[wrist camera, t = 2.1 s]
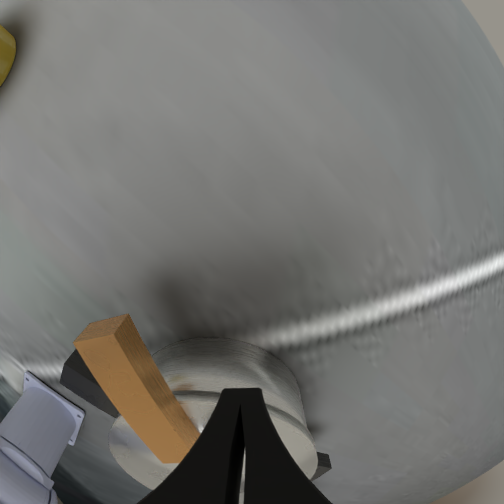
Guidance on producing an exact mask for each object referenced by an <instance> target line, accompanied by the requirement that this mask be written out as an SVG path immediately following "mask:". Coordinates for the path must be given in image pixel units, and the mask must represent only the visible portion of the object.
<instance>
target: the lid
mask: <svg viewBox="0 0 504 504" xmlns="http://www.w3.org/2000/svg"><path fill="white" fill-rule="evenodd" d="M73 343H74V345H75V347H76V349H77V350H78V352H79V354H80V355H81V357H82V359H83V360H84V362H85V363H86V365H87V367H88V368H89V370H90V371H91V373H92V374H93V376H94V377H95V379H96V380H97V382H98V383H99V385H100V386H101V388H102V389H103V391H104V392H105V393H106V395H107V396H108V398H109V399H110V400H111V402H112V403H113V405H114V406H115V407H116V409H117V410H118V411H119V413H118V415H117V417H116V419H115V421H114V423H113V425H112V428H111V430H110V432H109V438H108V440H109V447H110V450H111V453H112V455H113V456H114V458H115V460H116V461H117V462H118V464H119V465H120V466H121V467H122V468H123V469H124V470H125V471H126V472H127V473H128V474H129V475H130V476H131V477H133V478H134V479H135V480H137V481H138V482H140V483H141V484H143V485H145V486H146V487H148V488H150V489H152V490H154V489H155V488H156V487H157V486H158V485H159V484H161V483H162V482H163V481H164V480H165V479H166V478H167V476H168V475H169V474H170V473H171V472H172V471H173V470H174V469H175V468H176V467H177V466H178V464H179V463H180V462H181V461H182V460H183V458H184V457H185V456H186V454H187V453H188V452H189V451H190V449H191V448H192V446H193V445H194V443H195V442H196V440H197V439H198V437H199V436H200V434H201V433H202V431H203V429H204V428H205V426H206V424H207V422H208V420H209V419H210V417H211V415H212V413H213V411H214V409H215V407H216V405H217V402H218V400H219V397H220V395H221V393H220V392H213V391H198V390H179V391H171V390H170V388H169V386H168V385H167V383H166V381H165V380H164V378H163V376H162V375H161V373H160V371H159V369H158V368H157V366H156V364H155V363H154V361H153V359H152V357H151V355H150V354H149V352H148V350H147V348H146V346H145V344H144V343H143V341H142V339H141V337H140V335H139V333H138V331H137V329H136V327H135V325H134V323H133V321H132V319H131V317H130V315H129V314H125V315H121V316H117V317H113V318H109V319H105V320H101V321H97V322H93V323H90V324H89V325H88V326H87V327H86V328H85V329H84V331H83V332H82V333H81V334H80V335H79V336H78V337H77V339H76V340H75V341H74V342H73ZM265 405H266V408H267V410H268V413H269V415H270V418H271V420H272V422H273V424H274V426H275V428H276V430H277V432H278V434H279V436H280V438H281V440H282V442H283V443H284V445H285V447H286V448H287V450H288V451H289V453H290V455H291V456H292V458H293V459H294V460H295V462H296V463H297V465H298V466H299V467H300V469H301V470H302V471H303V473H304V474H305V475H306V476H307V477H308V479H309V480H310V479H311V478H312V477H313V475H314V474H315V471H316V469H317V465H318V457H317V452H316V447H315V442H314V439H313V437H312V435H311V433H310V432H309V430H308V429H307V428H306V426H304V425H303V424H302V423H301V422H300V421H299V420H298V419H296V418H295V417H293V416H292V415H290V414H289V413H287V412H285V411H283V410H281V409H279V408H277V407H274V406H272V405H269V404H267V403H265ZM244 483H245V452H244V461H243V470H242V478H241V487H240V496H239V504H244Z"/></svg>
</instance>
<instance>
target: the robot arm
mask: <svg viewBox="0 0 504 504" xmlns="http://www.w3.org/2000/svg"><path fill="white" fill-rule="evenodd" d="M84 416H85V413H84V411H83V410H81V409H80V408H78V407H76V406H75V405H73V404H72V403H70V402H69V401H67V400H66V399H64V398H63V397H62V396H60V395H59V394H57V393H56V392H54V391H53V390H52V389H50V388H49V387H47V386H46V385H45V384H43V383H42V382H41V381H40V380H38V379H37V378H36V377H34V376H33V375H32V374H31V373H29V372H25V374H24V387H23V395H22V396H21V397H20V398H19V400H18V401H17V402H16V404H15V405H14V406H13V407H12V409H11V410H10V411H9V413H8V414H7V415H6V417H5V418H4V419H3V421H2V422H1V424H0V504H57V497H56V493H55V491H54V490H53V489H52V486H53V484H54V482H53V481H52V480H51V479H50V477H51V475H52V473H53V471H54V469H55V467H56V465H57V463H58V461H59V459H60V457H61V455H62V453H63V451H64V449H65V448H66V446H67V444H70V445H74V444H75V441H76V438H77V435H78V432H79V429H80V427H81V424H82V421H83V418H84ZM244 452H245V483H244V504H332V503H331V502H330V501H329V500H328V499H327V498H326V497H325V496H324V495H323V494H322V493H321V492H320V491H319V490H318V489H317V488H316V487H315V485H314V484H313V483H312V482H311V481H310V480H309V479H308V477H307V476H306V475H305V474H304V473H303V471H302V470H301V469H300V467H299V466H298V465H297V463H296V462H295V460H294V459H293V458H292V456H291V455H290V453H289V451H288V450H287V448H286V447H285V445H284V443H283V442H282V440H281V438H280V436H279V434H278V432H277V430H276V428H275V426H274V424H273V422H272V420H271V418H270V415H269V413H268V410H267V408H266V405H265V401H264V398H263V393H262V389H260V388H259V387H258V388H224V389H223V390H222V392H221V395H220V397H219V400H218V402H217V405H216V407H215V409H214V411H213V413H212V415H211V417H210V419H209V420H208V422H207V424H206V426H205V428H204V429H203V431H202V433H201V434H200V436H199V437H198V439H197V440H196V442H195V443H194V445H193V446H192V448H191V449H190V451H189V452H188V453H187V454H186V456H185V457H184V458H183V460H182V461H181V462H180V463H179V464H178V466H177V467H176V468H175V469H174V470H173V471H172V472H171V473H170V474H169V475H168V476H167V478H166V479H165V480H164V481H163V482H162V483H161V484H159V485H158V486H157V487H156V488H155V489H154V490H153V491H152V492H150V493H149V494H148V495H147V496H146V497H144V498H143V499H142V500H141V501H139V502H138V503H137V504H239V496H240V487H241V478H242V470H243V461H244Z"/></svg>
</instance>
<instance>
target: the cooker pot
mask: <svg viewBox="0 0 504 504" xmlns="http://www.w3.org/2000/svg"><path fill="white" fill-rule="evenodd" d="M152 359H153V361H154V363H155V364H156V366H157V368H158V369H159V371H160V373H161V375H162V376H163V378H164V380H165V381H166V383H167V385H168V386H169V388H170V390H171V391H179V390H198V391H213V392H220V393H221V392H222V390H223V389H224V388H258V387H259V388H260V389H262V393H263V398H264V401H265V403H267V404H269V405H272V406H274V407H277V408H279V409H281V410H283V411H285V412H287V413H289V414H290V415H292V416H293V417H295V418H296V419H298V420H299V421H300V422H301V423H302V424H303V425H304V426H306V428H307V424H306V419H305V414H304V409H303V404H302V399H301V395H300V390H299V386H298V383H297V381H296V379H295V377H294V375H293V374H292V372H291V371H290V370H289V368H288V367H287V366H286V365H285V364H284V363H283V362H282V361H280V360H279V359H278V358H276V357H275V356H274V355H272V354H270V353H268V352H267V351H265V350H263V349H261V348H258V347H256V346H254V345H251V344H248V343H245V342H241V341H236V340H232V339H225V338H206V337H205V338H193V339H188V340H183V341H180V342H177V343H173V344H171V345H169V346H167V347H165V348H163V349H161V350H160V351H158V352H157V353H155V354H154V355H153V356H152ZM60 383H61V384H62V385H63V386H65V387H66V388H68V389H69V390H71V391H72V392H74V393H75V394H77V395H78V396H80V397H81V398H83V399H85V400H86V401H88V402H89V403H91V404H93V405H94V406H96V407H97V408H99V409H101V410H103V411H104V412H106V413H108V414H109V415H111V416H113V417H115V418H116V417H117V415H118V413H119V411H118V410H117V409H116V407H115V406H114V405H113V403H112V402H111V400H110V399H109V398H108V396H107V395H106V393H105V392H104V391H103V389H102V388H101V386H100V385H99V383H98V382H97V380H96V379H95V377H94V376H93V374H92V373H91V371H90V370H89V368H88V367H87V365H86V363H85V362H84V360H83V359H82V357H81V355H80V354H79V352H78V350H77V349H75V351H74V352H73V353H72V354H71V356H70V357H69V358H68V359H67V361H66V362H65V363H64V367H63V370H62V374H61V379H60ZM317 457H318V465H317V469H316V471H315V474H314V475H313V477H312V478H311V479H310V481H311V482H312V481H313V480H315V479H316V478H318V477H320V476H321V475H323V474H324V473H326V472H327V471H329V470H330V469H332V467H331V463H330V459H329V455H328V454H324V453H319V452H317Z"/></svg>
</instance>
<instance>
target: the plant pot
mask: <svg viewBox="0 0 504 504" xmlns="http://www.w3.org/2000/svg"><path fill="white" fill-rule="evenodd" d="M15 54H16V41H15V39H14V37H13V36H12V35H11V34H10V33H9V32H8V31H7V30H6V29H5V28H3V27H2V26H1V25H0V86H1V85H2V84H3V82H4V81H5V79H6V77H7V75H8V73H9V71H10V69H11V67H12V64H13V61H14V58H15Z"/></svg>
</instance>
